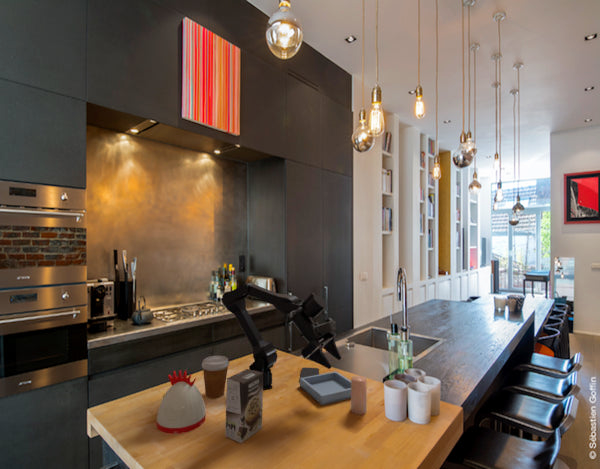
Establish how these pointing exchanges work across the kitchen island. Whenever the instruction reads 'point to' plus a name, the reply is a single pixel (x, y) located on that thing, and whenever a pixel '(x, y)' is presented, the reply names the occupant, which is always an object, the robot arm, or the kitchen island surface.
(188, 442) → the kitchen island surface
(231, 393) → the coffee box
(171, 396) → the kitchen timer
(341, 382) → the tray
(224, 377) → the disposable coffee cup
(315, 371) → the phone
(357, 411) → the tan rounded glossy part
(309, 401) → the kitchen island surface
